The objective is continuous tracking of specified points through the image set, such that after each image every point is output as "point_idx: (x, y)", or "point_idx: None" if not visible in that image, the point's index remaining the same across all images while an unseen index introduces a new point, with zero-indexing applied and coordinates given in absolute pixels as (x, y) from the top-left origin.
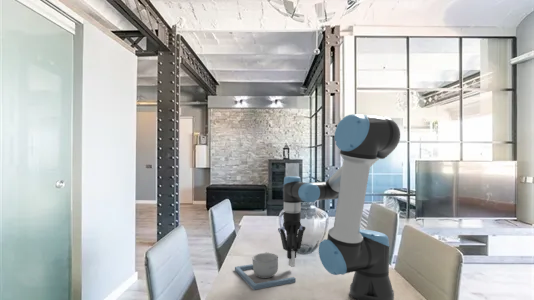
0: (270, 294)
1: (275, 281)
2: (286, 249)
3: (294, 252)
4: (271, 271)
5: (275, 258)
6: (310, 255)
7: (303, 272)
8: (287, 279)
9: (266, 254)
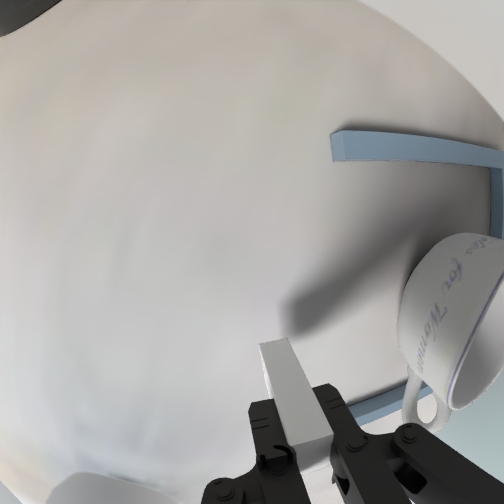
0: (460, 80)
1: (452, 144)
2: (417, 430)
3: (292, 435)
4: (467, 234)
5: (443, 358)
6: (97, 463)
7: (193, 293)
8: (396, 136)
9: (457, 401)
